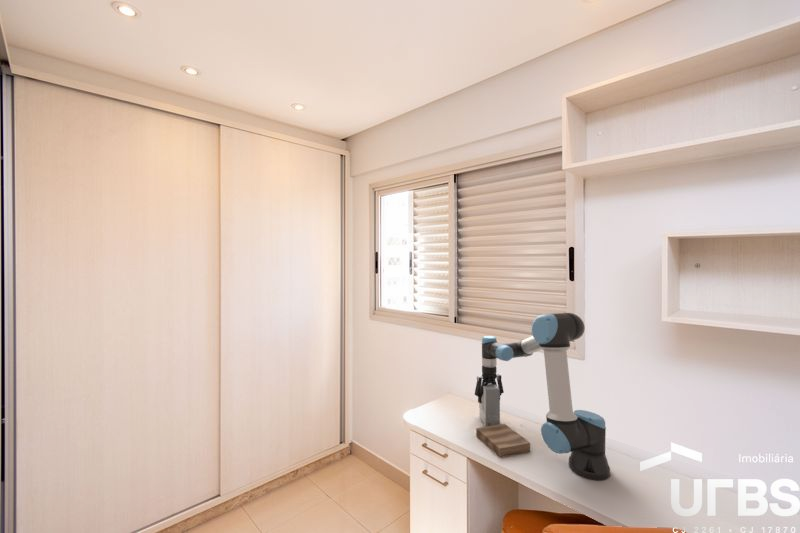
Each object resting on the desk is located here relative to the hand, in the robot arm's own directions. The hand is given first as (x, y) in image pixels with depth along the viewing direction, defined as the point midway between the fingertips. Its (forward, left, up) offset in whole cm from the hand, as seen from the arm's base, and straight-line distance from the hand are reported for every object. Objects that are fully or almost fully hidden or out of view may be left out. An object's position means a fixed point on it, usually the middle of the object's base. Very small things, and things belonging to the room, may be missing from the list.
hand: (489, 407), depth 188 cm
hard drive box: (0, 0, -8) cm, 8 cm away
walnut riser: (-21, +6, -8) cm, 23 cm away
